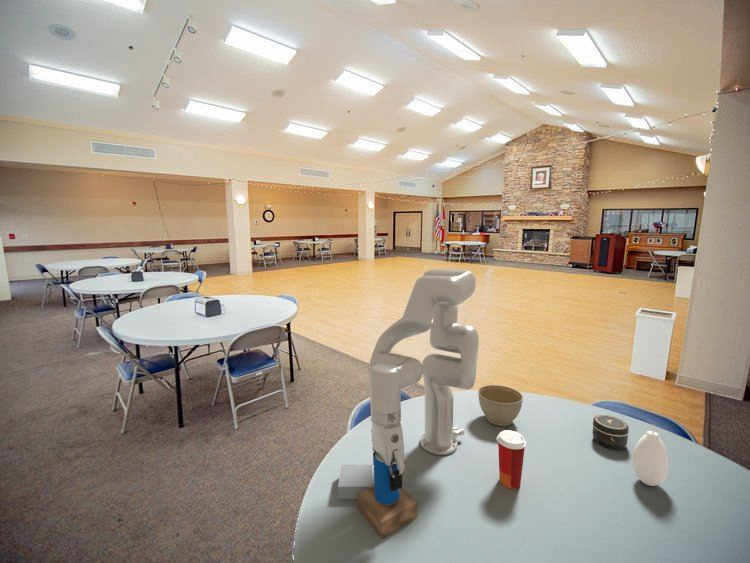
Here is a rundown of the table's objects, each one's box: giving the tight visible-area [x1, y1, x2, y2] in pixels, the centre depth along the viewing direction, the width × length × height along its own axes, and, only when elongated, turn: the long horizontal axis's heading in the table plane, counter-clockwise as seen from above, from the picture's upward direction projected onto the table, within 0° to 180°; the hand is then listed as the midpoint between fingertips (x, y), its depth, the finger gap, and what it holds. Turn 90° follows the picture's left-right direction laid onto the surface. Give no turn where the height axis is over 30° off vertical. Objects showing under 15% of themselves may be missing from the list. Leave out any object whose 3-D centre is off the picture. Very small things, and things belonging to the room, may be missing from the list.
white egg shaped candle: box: [631, 423, 670, 487], centre depth 96 cm, size 8×8×18 cm
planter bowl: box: [477, 384, 524, 427], centre depth 131 cm, size 16×16×11 cm
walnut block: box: [356, 485, 418, 539], centre depth 88 cm, size 11×11×4 cm
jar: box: [592, 414, 630, 451], centre depth 116 cm, size 10×10×8 cm
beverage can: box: [373, 452, 400, 505], centre depth 87 cm, size 6×6×12 cm
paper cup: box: [496, 429, 527, 490], centre depth 97 cm, size 8×8×14 cm
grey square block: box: [337, 464, 373, 500], centre depth 97 cm, size 9×9×4 cm
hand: (387, 476), depth 87 cm, fingers open, 9 cm apart
